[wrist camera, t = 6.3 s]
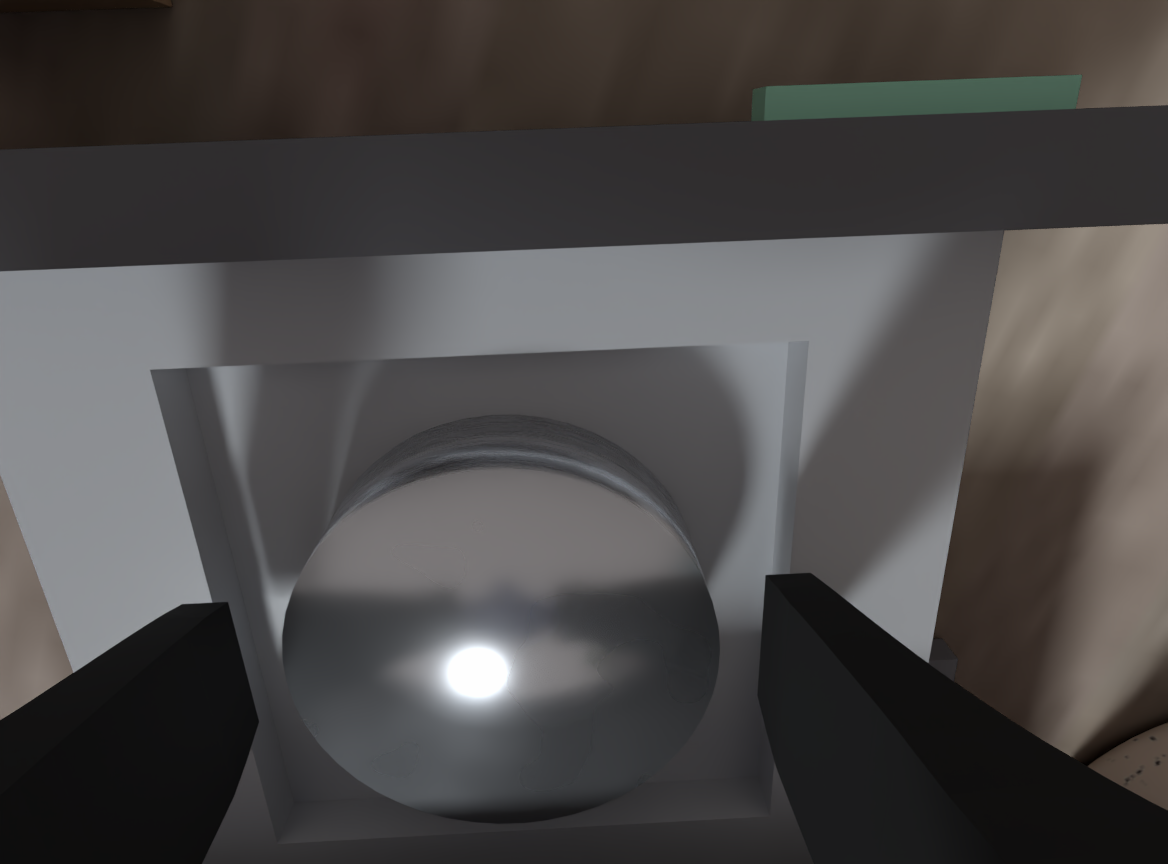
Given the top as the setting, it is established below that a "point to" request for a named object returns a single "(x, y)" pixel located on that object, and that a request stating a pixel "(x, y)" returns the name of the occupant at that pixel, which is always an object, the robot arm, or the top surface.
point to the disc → (503, 624)
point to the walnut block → (77, 5)
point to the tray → (530, 384)
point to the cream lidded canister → (1140, 765)
